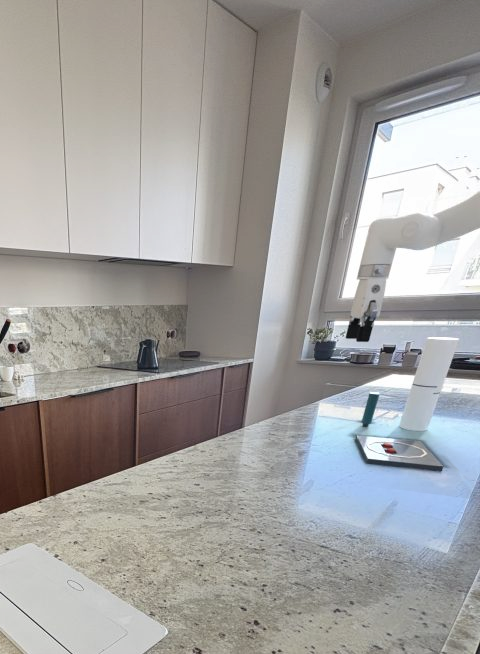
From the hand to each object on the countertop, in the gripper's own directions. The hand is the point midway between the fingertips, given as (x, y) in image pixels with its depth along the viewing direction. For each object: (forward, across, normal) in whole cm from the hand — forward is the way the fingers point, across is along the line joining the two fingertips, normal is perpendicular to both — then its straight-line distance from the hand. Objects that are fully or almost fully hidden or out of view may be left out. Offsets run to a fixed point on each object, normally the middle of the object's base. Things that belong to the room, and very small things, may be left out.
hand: (356, 340), depth 123 cm
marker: (+24, -5, -7) cm, 26 cm away
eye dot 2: (+24, -33, -4) cm, 41 cm away
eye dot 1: (+24, -28, -4) cm, 38 cm away
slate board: (+24, -31, -6) cm, 39 cm away
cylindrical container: (+24, -4, -20) cm, 32 cm away
